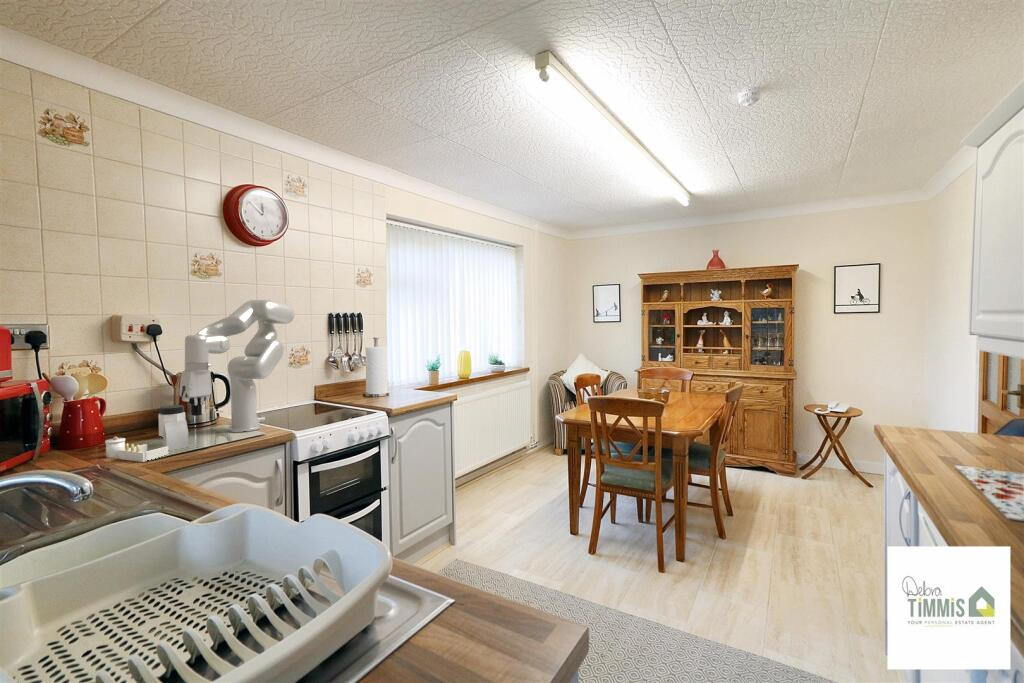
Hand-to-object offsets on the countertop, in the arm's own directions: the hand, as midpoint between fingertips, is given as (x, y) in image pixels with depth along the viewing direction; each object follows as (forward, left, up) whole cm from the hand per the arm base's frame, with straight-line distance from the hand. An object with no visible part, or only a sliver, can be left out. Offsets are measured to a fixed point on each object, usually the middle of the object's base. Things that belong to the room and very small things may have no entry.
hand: (196, 415), depth 179 cm
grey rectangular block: (+8, 0, -11) cm, 14 cm away
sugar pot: (+21, -11, -11) cm, 26 cm away
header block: (+19, 0, -11) cm, 22 cm away
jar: (-6, -20, -11) cm, 24 cm away
